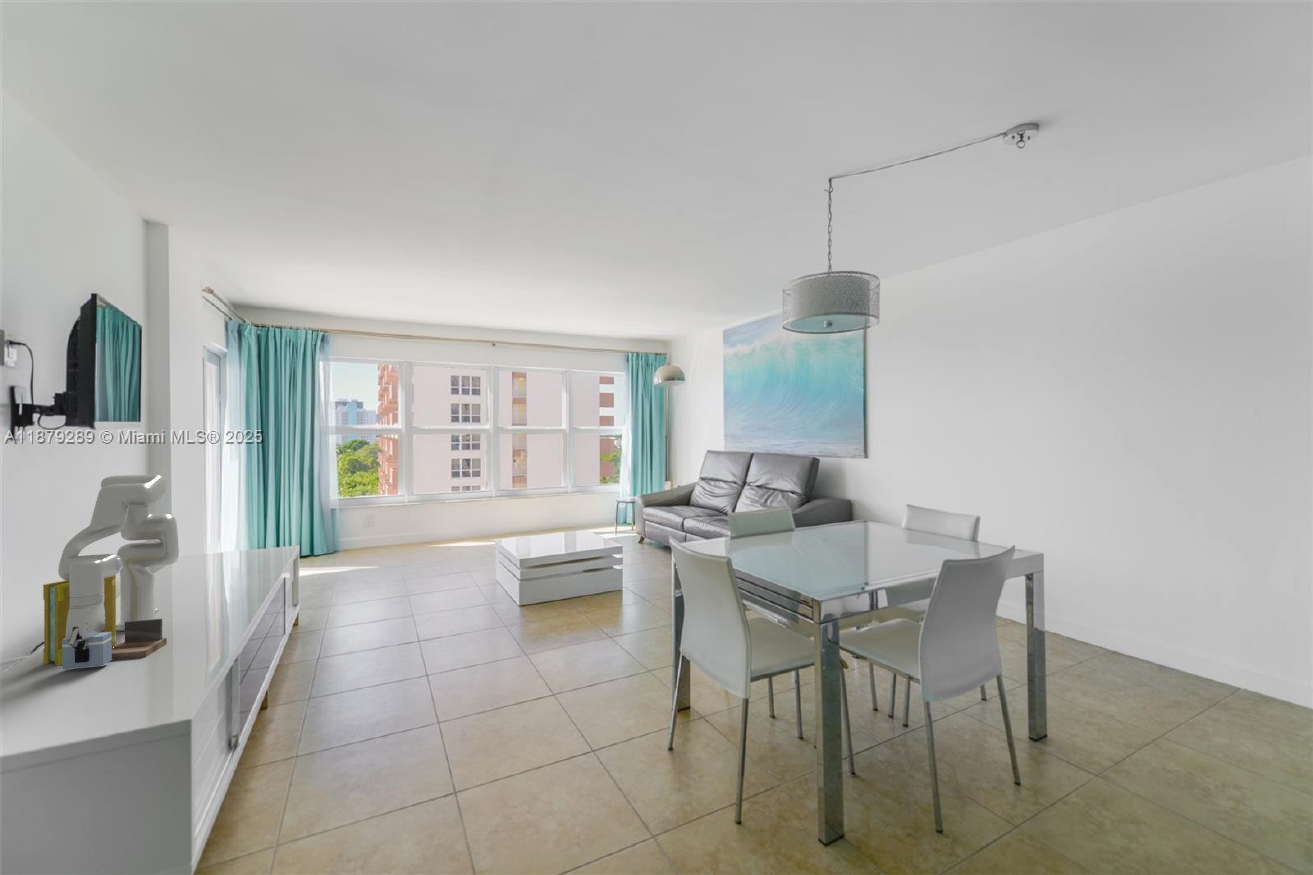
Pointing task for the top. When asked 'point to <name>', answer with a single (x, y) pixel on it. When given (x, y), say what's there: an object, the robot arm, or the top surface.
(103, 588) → the robot arm
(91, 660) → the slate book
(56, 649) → the book
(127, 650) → the brown l-shaped piece
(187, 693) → the top surface
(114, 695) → the top surface
